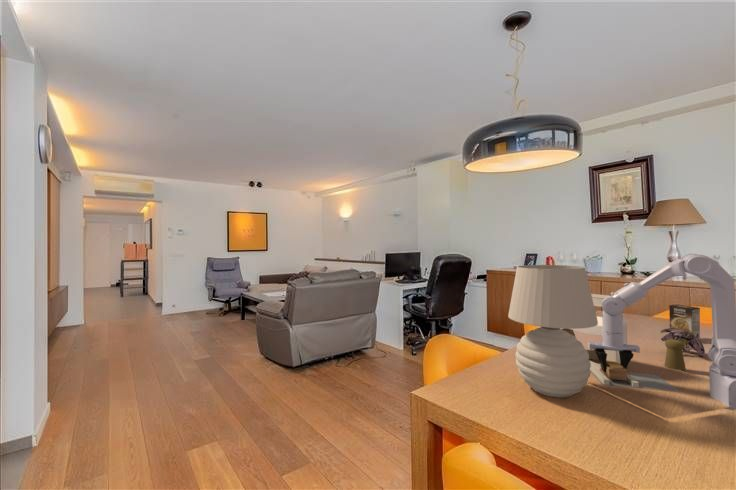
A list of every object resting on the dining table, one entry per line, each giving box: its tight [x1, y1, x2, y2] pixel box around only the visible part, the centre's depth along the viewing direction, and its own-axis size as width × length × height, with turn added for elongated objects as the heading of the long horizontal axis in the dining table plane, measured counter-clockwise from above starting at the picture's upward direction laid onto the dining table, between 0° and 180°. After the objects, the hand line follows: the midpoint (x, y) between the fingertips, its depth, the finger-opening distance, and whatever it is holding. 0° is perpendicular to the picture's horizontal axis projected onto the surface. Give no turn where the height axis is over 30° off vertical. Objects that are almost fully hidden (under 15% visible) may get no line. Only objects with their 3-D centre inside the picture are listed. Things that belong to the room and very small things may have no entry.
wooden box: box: [599, 360, 628, 380], centre depth 113 cm, size 8×5×4 cm, turn 163°
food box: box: [668, 304, 701, 341], centre depth 158 cm, size 9×6×16 cm
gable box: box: [560, 293, 628, 370], centre depth 130 cm, size 22×13×28 cm, turn 38°
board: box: [590, 366, 682, 393], centre depth 112 cm, size 14×21×3 cm, turn 73°
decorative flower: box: [660, 327, 706, 358], centre depth 138 cm, size 15×12×15 cm
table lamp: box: [507, 264, 598, 399], centre depth 107 cm, size 25×25×40 cm
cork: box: [664, 339, 687, 373], centre depth 122 cm, size 6×6×11 cm
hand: (613, 371), depth 113 cm, fingers closed on wooden box, 5 cm apart
